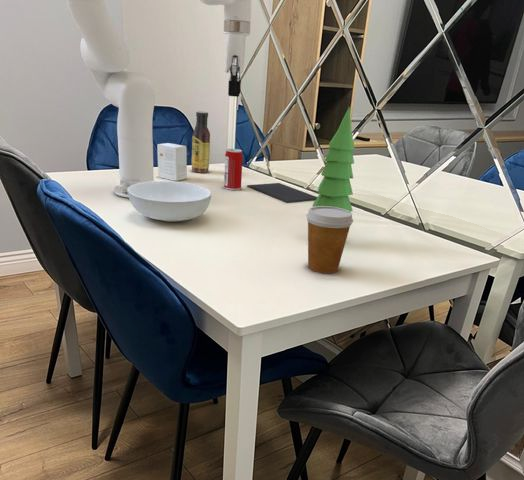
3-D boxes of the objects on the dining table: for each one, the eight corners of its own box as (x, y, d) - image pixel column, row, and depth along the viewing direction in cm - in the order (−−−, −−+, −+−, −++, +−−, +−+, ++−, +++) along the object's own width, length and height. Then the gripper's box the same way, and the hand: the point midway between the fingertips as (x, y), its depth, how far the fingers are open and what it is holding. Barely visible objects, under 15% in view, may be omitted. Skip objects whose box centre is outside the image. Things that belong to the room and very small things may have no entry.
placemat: (320, 199, 167) (320, 198, 167) (287, 202, 161) (287, 201, 160) (278, 184, 183) (279, 182, 183) (247, 186, 176) (247, 185, 176)
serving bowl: (114, 221, 130) (112, 193, 127) (149, 203, 148) (148, 177, 145) (194, 233, 127) (195, 204, 124) (221, 213, 145) (222, 187, 142)
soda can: (244, 189, 172) (246, 150, 166) (231, 191, 169) (233, 151, 163) (233, 185, 175) (234, 147, 170) (220, 187, 172) (221, 148, 166)
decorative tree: (349, 238, 133) (370, 107, 119) (344, 249, 125) (365, 109, 111) (311, 232, 135) (327, 102, 121) (303, 242, 127) (319, 105, 113)
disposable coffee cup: (341, 261, 117) (349, 207, 111) (349, 277, 109) (358, 219, 103) (298, 259, 117) (304, 204, 111) (302, 275, 108) (309, 216, 102)
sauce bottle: (189, 169, 193) (189, 110, 183) (205, 169, 195) (206, 110, 186) (195, 173, 188) (195, 112, 178) (211, 173, 190) (213, 113, 181)
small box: (187, 179, 179) (187, 146, 174) (176, 181, 175) (176, 147, 170) (168, 175, 183) (168, 142, 177) (157, 177, 178) (156, 143, 173)
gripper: (225, 29, 160) (223, 92, 168) (221, 26, 145) (220, 96, 153) (250, 30, 160) (247, 94, 168) (249, 28, 145) (246, 98, 153)
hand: (234, 95), depth 161 cm, fingers open, 9 cm apart
